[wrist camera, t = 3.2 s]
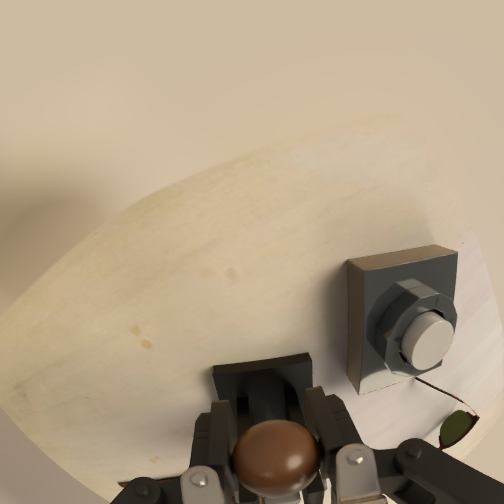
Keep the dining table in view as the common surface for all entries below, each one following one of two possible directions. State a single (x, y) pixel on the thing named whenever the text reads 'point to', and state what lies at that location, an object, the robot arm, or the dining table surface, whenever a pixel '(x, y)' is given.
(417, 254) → the button housing
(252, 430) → the flush lever
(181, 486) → the robot arm
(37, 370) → the dining table surface
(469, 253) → the dining table surface
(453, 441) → the sunglasses
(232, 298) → the dining table surface
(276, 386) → the lever bracket
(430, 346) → the white push button
